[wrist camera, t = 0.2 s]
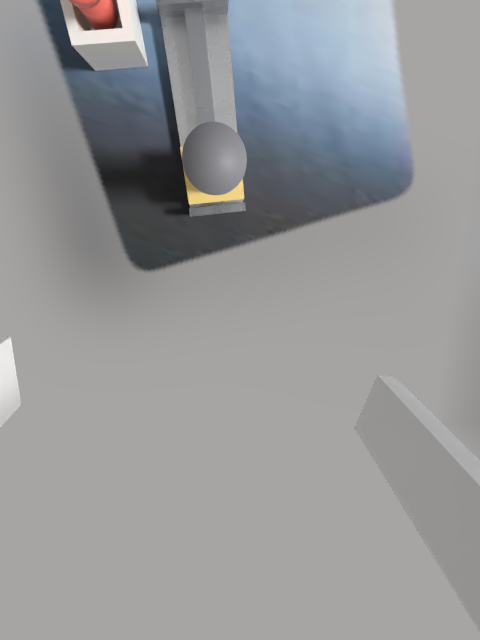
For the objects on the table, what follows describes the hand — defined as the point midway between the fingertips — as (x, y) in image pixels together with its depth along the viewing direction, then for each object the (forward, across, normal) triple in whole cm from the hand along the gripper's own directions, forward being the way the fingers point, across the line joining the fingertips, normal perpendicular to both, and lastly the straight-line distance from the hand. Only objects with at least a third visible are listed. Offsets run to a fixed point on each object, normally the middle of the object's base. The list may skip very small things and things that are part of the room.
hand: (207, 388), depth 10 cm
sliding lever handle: (+25, -1, +8) cm, 27 cm away
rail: (+27, -2, +13) cm, 30 cm away
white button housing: (+27, -11, +18) cm, 34 cm away
